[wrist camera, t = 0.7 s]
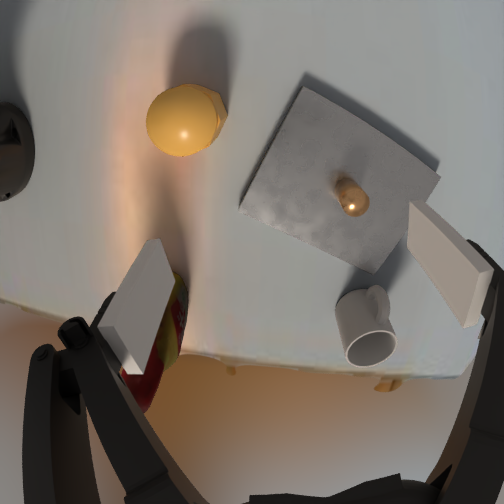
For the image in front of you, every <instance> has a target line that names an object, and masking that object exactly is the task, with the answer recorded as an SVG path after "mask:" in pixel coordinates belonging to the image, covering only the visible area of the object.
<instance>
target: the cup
mask: <svg viewBox="0 0 504 504" xmlns="http://www.w3.org/2000/svg"><path fill="white" fill-rule="evenodd" d="M389 314H390V302H389V298H388V295H387V293H386V291H385V290H384V289H383V288H382V287H381V286H379V285H374V286H371V287H369V289H368V290H367V289H358V290H354V291H351V292H349V293H347V294H346V295H344V296H343V297H342V298H341V299H340V301H339V302H338V304H337V305H336V309H335V316H336V321H337V325H338V328H339V332H340V337H341V341H342V345H343V349H344V353H345V357H346V360H347V362H348V363H349V364H351V365H353V366H355V367H371V366H375V365H377V364H380V363H382V362H383V361H385V360H386V359H388V358H389V357H390V356H391V355H392V354H393V353H394V351H395V350H396V348H397V343H398V341H397V337H396V335H395V332H394V330H393V328H392V325H391V323H390V321H389Z"/></svg>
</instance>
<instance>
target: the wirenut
mask: <svg viewBox="0 0 504 504" xmlns="http://www.w3.org/2000/svg"><path fill="white" fill-rule="evenodd" d="M227 116H228V115H227V112H226V109H225V107H224V104H223V102H222V99H221V97H220V94H219V93H217V92H215V91H212V90H210V89H207V88H205V87H202V86H200V85H197V84H182V85H180V86H178V87H175V88H171V89H168V90H166V91H164V92H162V93H161V94H160V95H158V96H157V97H156V98H155V100H154V101H153V102H152V104H151V105H150V107H149V110H148V113H147V118H146V127H147V132H148V135H149V137H150V139H151V141H152V142H153V143H154V145H155V146H156V147H157V148H159V149H160V150H161V151H163V152H165V153H167V154H169V155H173V156H182V157H183V156H188V155H192V154H194V153H196V152H198V151H200V150H201V149H204V148H207V147H209V146H210V145H211V144H212V143H213V141H214V140H215V139H216V138H217V137H218V135H219V133H220V131H221V129H222V127H223V125H224V123H225V120H226V118H227Z"/></svg>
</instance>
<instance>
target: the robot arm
mask: <svg viewBox="0 0 504 504" xmlns="http://www.w3.org/2000/svg"><path fill="white" fill-rule="evenodd" d="M33 166H34V141H33V135H32V131H31V128H30V126H29V123H28V121H27V119H26V117H25V116H24V114H23V113H22V111H21V110H20V109H19V108H18V107H16V106H15V105H13V104H11V103H8V102H0V202H1V201H6V200H8V199H10V198H12V197H14V196H15V195H17V194H18V193H20V192H21V191H22V190H23V189H24V188H25V187H26V185H27V184H28V182H29V179H30V177H31V174H32V171H33ZM407 248H408V249H409V251H410V252H411V253H412V255H413V256H414V257H415V259H416V260H417V261H418V263H419V264H420V265H421V267H422V268H423V269H424V271H425V272H426V274H427V275H428V276H429V278H430V279H431V281H432V282H433V284H434V285H435V286H436V288H437V289H438V291H439V292H440V294H441V295H442V297H443V298H444V300H445V301H446V303H447V304H448V306H449V307H450V309H451V310H452V312H453V314H454V315H455V317H456V318H457V320H458V321H459V323H460V325H461V326H462V328H467V327H470V326H473V325H476V324H477V322H478V320H479V317H480V314H482V315H483V317H484V318H485V321H484V323H483V326H482V329H481V331H480V334H479V336H478V339H480V341H479V345H478V349H477V353H476V357H475V362H474V365H473V369H472V373H471V376H470V379H469V383H468V386H467V389H466V392H465V395H464V398H463V401H462V404H461V408H460V410H459V413H458V416H457V418H456V421H455V424H454V426H453V429H452V431H451V434H450V436H449V439H448V441H447V443H446V446H445V448H444V450H443V452H442V455H441V457H440V459H439V461H438V463H437V465H436V466H435V468H434V469H433V471H432V472H431V474H430V475H429V477H428V479H427V480H426V482H425V483H424V482H420V481H415V480H401V477H400V473H398V474H395V475H391V476H387V477H384V478H379V479H375V480H371V481H366V482H363V483H361V484H359V485H357V486H354V487H352V488H350V489H347V490H345V491H343V492H340V493H338V494H335V495H333V496H330V497H312V496H304V495H295V494H288V493H285V494H270V495H250V497H249V502H246V503H243V504H495V502H496V500H497V498H498V495H499V492H500V490H501V487H502V484H503V481H504V271H503V270H502V268H501V267H500V266H499V265H498V264H497V263H496V262H495V261H494V260H493V259H492V258H491V257H490V256H489V255H488V254H487V253H486V252H484V250H483V249H482V248H481V247H480V246H479V245H478V244H477V243H475V242H473V241H471V240H469V239H468V240H465V239H464V238H463V237H462V236H461V235H460V234H459V233H458V232H457V231H456V230H455V229H454V228H453V227H452V226H451V225H450V224H448V223H447V222H446V221H445V220H444V219H443V218H442V217H441V216H440V215H439V214H437V213H436V212H435V211H434V210H433V209H432V208H431V207H430V206H428V205H427V204H426V203H425V202H424V201H423V200H416V201H410V203H409V225H408V240H407ZM174 283H175V279H174V276H173V273H172V271H171V268H170V265H169V262H168V260H167V257H166V254H165V251H164V248H163V245H162V243H161V240H160V238H158V239H153V240H147V242H146V243H145V245H144V246H143V248H142V250H141V251H140V253H139V254H138V256H137V258H136V259H135V261H134V263H133V264H132V266H131V268H130V269H129V271H128V273H127V274H126V276H125V278H124V280H123V281H122V283H121V285H120V286H119V288H118V290H117V292H112V293H111V294H110V295H109V296H108V297H107V298H106V299H105V301H104V302H103V304H102V306H101V308H100V309H99V311H98V314H97V315H96V316H95V318H94V320H93V322H92V324H91V325H90V327H89V326H88V325H87V323H86V321H85V320H84V319H83V317H79V316H78V317H73V318H71V319H69V320H67V321H66V322H64V323H63V324H62V326H61V327H60V328H59V330H58V337H59V338H60V339H61V341H62V343H63V344H64V345H65V347H66V348H67V349H64V350H61V351H56V350H55V348H54V347H53V346H52V345H51V344H44V345H42V346H40V347H38V348H37V349H36V350H35V351H34V353H33V354H32V357H31V360H30V366H29V373H28V381H27V389H26V397H25V408H24V421H23V444H22V465H23V466H22V468H23V490H24V491H23V492H24V504H101V502H100V498H99V493H98V489H97V484H96V479H95V473H94V468H93V462H92V455H91V448H90V441H89V433H88V424H87V414H86V407H87V409H88V412H89V415H90V417H91V419H92V422H93V424H94V427H95V429H96V432H97V434H98V436H99V439H100V441H101V443H102V445H103V447H104V450H105V452H106V454H107V456H108V458H109V460H110V462H111V464H112V466H113V468H114V470H115V472H116V474H117V476H118V478H119V480H120V482H121V484H122V485H123V487H124V489H125V491H126V496H125V497H124V501H125V504H209V503H208V502H207V501H206V500H205V499H204V498H203V497H202V496H201V494H200V493H199V492H198V491H197V490H196V488H195V487H194V486H193V484H192V483H191V482H190V481H189V479H188V478H187V477H186V475H185V474H184V473H183V472H182V470H181V469H180V468H179V466H178V465H177V463H176V462H175V461H174V459H173V458H172V456H171V455H170V454H169V452H168V451H167V450H166V448H165V446H164V445H163V443H162V442H161V441H160V439H159V437H158V436H157V435H156V433H155V431H154V430H153V428H152V427H151V425H150V424H149V422H148V420H147V419H146V417H145V416H144V414H143V412H142V411H141V409H140V407H139V406H138V404H137V402H136V401H135V399H134V397H133V395H132V394H131V392H130V390H129V388H128V387H127V385H126V383H125V381H124V379H123V377H122V376H121V375H120V373H119V371H120V368H121V365H122V366H123V368H124V369H125V371H126V372H127V374H144V370H145V367H146V364H147V361H148V358H149V355H150V352H151V349H152V346H153V343H154V340H155V337H156V334H157V331H158V328H159V325H160V322H161V320H162V317H163V314H164V311H165V308H166V305H167V303H168V300H169V297H170V294H171V291H172V289H173V286H174Z"/></svg>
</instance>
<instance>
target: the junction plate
mask: <svg viewBox="0 0 504 504" xmlns="http://www.w3.org/2000/svg"><path fill="white" fill-rule="evenodd" d="M440 178H441V177H440V176H439V175H438V174H437V173H436V172H434V171H433V170H432V169H431V168H429V167H428V166H427V165H425V164H424V163H423V162H422V161H420V160H419V159H418V158H416V157H415V156H414V155H412V154H411V153H410V152H408V151H407V150H406V149H404V148H403V147H401V146H400V145H399V144H397V143H396V142H394V141H393V140H392V139H390V138H389V137H387V136H386V135H384V134H383V133H381V132H380V131H378V130H377V129H375V128H374V127H372V126H371V125H369V124H368V123H366V122H365V121H363V120H361V119H360V118H358V117H357V116H355V115H353V114H352V113H350V112H349V111H347V110H345V109H344V108H342V107H340V106H338V105H337V104H335V103H333V102H332V101H330V100H328V99H326V98H324V97H323V96H321V95H319V94H317V93H315V92H314V91H312V90H310V89H308V88H306V87H304V86H302V87H301V89H300V91H299V93H298V94H297V96H296V98H295V100H294V102H293V104H292V105H291V107H290V109H289V111H288V113H287V115H286V117H285V118H284V120H283V122H282V124H281V126H280V128H279V130H278V132H277V133H276V135H275V137H274V139H273V141H272V143H271V145H270V147H269V149H268V150H267V152H266V154H265V156H264V158H263V160H262V162H261V164H260V166H259V168H258V170H257V172H256V174H255V176H254V177H253V179H252V181H251V183H250V185H249V187H248V189H247V191H246V193H245V195H244V197H243V199H242V201H241V203H240V205H239V208H238V211H239V212H241V213H243V214H245V215H247V216H250V217H252V218H254V219H256V220H258V221H261V222H263V223H265V224H267V225H269V226H272V227H274V228H276V229H278V230H280V231H282V232H284V233H287V234H289V235H291V236H293V237H295V238H297V239H299V240H302V241H304V242H306V243H308V244H310V245H312V246H314V247H316V248H318V249H321V250H323V251H325V252H327V253H329V254H331V255H333V256H335V257H337V258H339V259H341V260H343V261H346V262H348V263H350V264H352V265H354V266H356V267H358V268H360V269H362V270H364V271H366V272H368V273H370V274H372V275H374V274H375V273H376V272H377V270H378V269H379V268H380V266H381V265H382V264H383V262H384V261H385V260H386V258H387V257H388V256H389V254H390V253H391V252H392V250H393V249H394V247H395V246H396V245H397V243H398V242H399V240H400V239H401V238H402V236H403V235H404V233H405V232H406V230H407V229H408V225H409V203H410V201H416V200H423V201H424V202H426V200H427V199H428V197H429V196H430V194H431V193H432V191H433V189H434V188H435V186H436V185H437V183H438V181H439V180H440Z"/></svg>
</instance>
